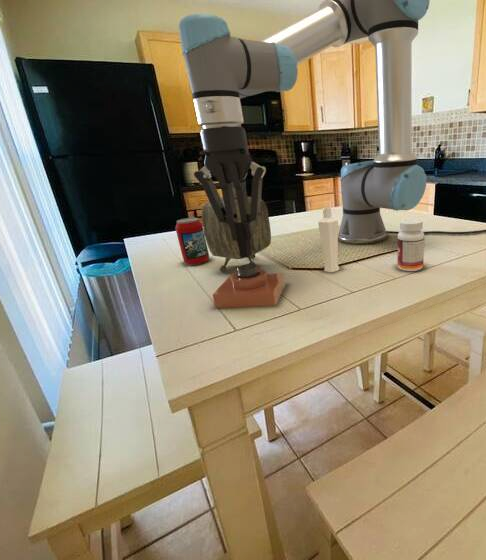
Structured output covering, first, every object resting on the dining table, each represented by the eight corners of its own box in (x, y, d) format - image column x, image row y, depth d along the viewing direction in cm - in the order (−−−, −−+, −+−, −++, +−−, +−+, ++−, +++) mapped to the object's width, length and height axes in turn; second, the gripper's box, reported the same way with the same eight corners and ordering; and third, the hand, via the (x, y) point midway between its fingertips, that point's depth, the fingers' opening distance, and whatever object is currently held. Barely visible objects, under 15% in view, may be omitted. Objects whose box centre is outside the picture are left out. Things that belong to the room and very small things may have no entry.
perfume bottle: (338, 272, 80) (334, 210, 75) (321, 272, 81) (315, 210, 76) (342, 266, 84) (339, 206, 79) (326, 266, 85) (321, 206, 80)
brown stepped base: (285, 285, 75) (282, 264, 73) (275, 305, 66) (271, 282, 64) (232, 287, 76) (228, 267, 74) (215, 308, 66) (210, 284, 64)
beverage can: (195, 267, 90) (184, 223, 86) (179, 264, 94) (168, 221, 89) (215, 259, 96) (206, 217, 91) (199, 256, 99) (190, 216, 95)
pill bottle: (398, 262, 84) (398, 218, 80) (423, 263, 83) (424, 218, 79) (396, 271, 79) (396, 224, 75) (423, 272, 78) (425, 224, 73)
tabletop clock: (253, 256, 96) (237, 165, 87) (277, 260, 92) (264, 164, 83) (213, 273, 85) (190, 170, 75) (239, 278, 81) (218, 169, 71)
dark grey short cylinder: (261, 272, 71) (259, 263, 70) (255, 279, 67) (254, 269, 66) (242, 272, 71) (240, 263, 70) (236, 280, 67) (234, 270, 66)
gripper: (175, 129, 55) (207, 263, 64) (252, 123, 55) (274, 260, 64) (195, 130, 62) (221, 251, 71) (264, 125, 61) (282, 248, 71)
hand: (246, 255), depth 67 cm, fingers closed
